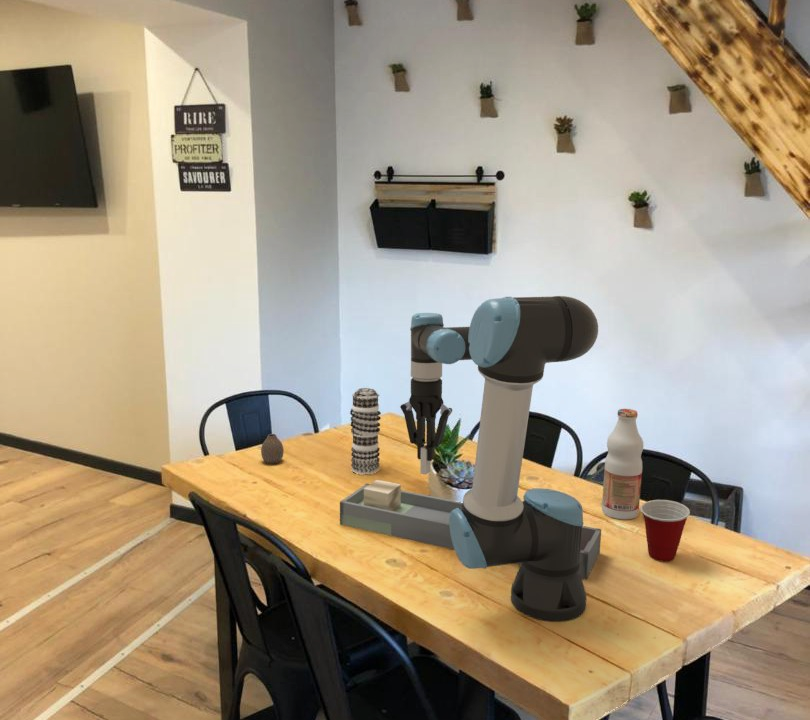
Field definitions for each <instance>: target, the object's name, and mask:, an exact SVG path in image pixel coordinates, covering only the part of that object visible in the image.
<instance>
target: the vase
mask: <svg viewBox="0 0 810 720" xmlns="http://www.w3.org/2000/svg"><path fill="white" fill-rule="evenodd" d="M284 454H285V453H284V445H283V443H282V441H281V440H279V438H278V436H277V434H276V433H269V434H268V435H267V437H266V439H265V440H264V441H263V442H262V444H261V448H260V455H261V459H262V460H263V461H264V462H265V463H266V464H269V465H273V464H274V465H275V464H278V463H279V462H280V461H282V459H283V457H284Z"/></svg>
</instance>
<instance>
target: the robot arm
mask: <svg viewBox="0 0 810 720" xmlns="http://www.w3.org/2000/svg"><path fill="white" fill-rule="evenodd" d="M444 326H445V324H444V317H443V315H442V314H441V313H437V312H436V313H434V312H418V313H415V314H413V315H412V316H411V320H410V329H409V330H410V377H411V379H410V397H409V399H408V401H407V402H405V403H403V404H400V406H399V407H400V410H401V411H402V413H403V414H404V421H405V424H406V430H407V433H408V438H409V443H410V444H413V445H415V446H416V447H417V450H416V451H417V454H416V455H417V456H416V457H417V460H420V468H419V469H420V475H428V474H429V473H431V470H432V469H431V467H432V466H431V465H432V464H431V461H433V460H434V458H435V448H437V447H439V446H441V444H443V443H442V442H443V439H444V434H445V432H446V428H447V423H448V419H449V418H450V417H449V416H450V415H451V414H452V413H453V409H452V408H451V407H447V406H446V405H445V403H444V400H443V395H442V394H443V379H441V378H442V377H443V364H444V365H453V364H455V363H457V362H459V361H471V360H472V362H473V363H474V364H475V365H476V366H477V371H478V373H479V374H480V375H481V376H482V377H483V378H484V387H483V392H482V393H483V394H482V403H481V411H480V419H479V428H478V436H477V445H476V453H475V462H474V470H473V479H472V487H471V489H469V490H468V491H466V492H465V493H464V494H463V498H462V502H463V503H462V508H456V509H454V510H453V511H451V513H450V516H449V528H450V534H451V539H452V543H453V546H454V549H455V550H454V551H455V554H456V556H457V558H458V560H459V561H460V563H461V565H463V567H466V568H467V569H470V570H471V569H472V570H475V569H485V570H486V569H488V568H490V567H499V566H505V565H513V564H515V563H521V565H519V568H518V570H517V572H516V575H515V577H514V580H513V583H512V585H511V588H510V601H511V604H512V605H513V607H514V608H515V609H516V610H517V611H519V612H520V613H522V614H523V615H524V616H527V617H530V618H533V619H535V620H540V621H546V622H566V621H571V620H574V619H576V618H579V617H580V616H582V615H583V614H584V613H585V611H586V609H587V593H586V590H585V585H584V583H583V579H582V578H581V574H580V571H579V566H580V552H581V538H582V526H584V512H583V506H582V504H581V502H580V501H579V500H578V499H577V498H576V497H574V496H572V495H570V494H567V493H565V492H562V491H560V490H555V489H550V488H542V487H541V488H540V487H537V488H530V489H528V490H527V491H525V492H524V495H523V496H522V497H523V500H522V499H521V498H520V497H519V496H518V493H519V487H520V486H519V484H520V479H521V470H522V465H523V458H524V449H525V444H526V437H527V429H528V423H529V422H528V421H529V416H530V410H531V409H530V408H531V404H532V403H531V401H532V395H533V390H534V389H533V388H534V385H535V384H537V383H538V382H541V380H543V377H544V374H545V373H544V372H545V367H546V364H549V363H550V364H551V363H559V362H562V363H563V362H568V361H572V360H576V359H578V358H580V357H581V358H582V356H584V355H585V354H587V353H588V352H589V351H590V350H591V349H592V348H593V347H594V346H595V343H596V342H597V339H598V335H599V322H598V319H597V317H596V315H595V312H593V310H592V309H591V308H590V307H589V306H588V305H587V304H586V303H585V302H583V301H582V300H579V299H577V298H574V297H572V296H565V295H555V296H526V297H525V296H523V297H522V296H520V297H518V296H517V297H512V296H503V297H500V298H499V297H497V298H490V299H487V300H485V301H483V302H482V303H481V304H480V305H479V306H478V307H477V308H476V310H475V311H474V313H473V316H472V318H471V321H470V325H469V326H453V327H450V326H449V327H446V326H445V327H444ZM439 411H440V417H439V420H438V423H437V427H436V419H437V414H438V412H439ZM414 413H415V416H414ZM415 420H416V421H415Z"/></svg>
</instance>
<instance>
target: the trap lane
mask: <svg viewBox="0 0 810 720" xmlns="http://www.w3.org/2000/svg"><path fill="white" fill-rule="evenodd" d="M370 484H371V483H365V484H364V485H362V486H361V487H359V488H358V489H357V490H355V491H353V492H352V493H351V494H349V495H348V496H347V497H345V498H343V499H342V500H340V501H339V524H340V525H342V526H347V527H351V528H356V529H360V530H363V531H370V532H373V533H377V534H383V535H387V536H390V537H396V538H400V539H403V540H408V541H413V542H416V543H417V542H418V543H422V544H425V545H432V546H435V547H440V548H444V549H450V550H453V551H455V549H454V546H453V543H452V539H451V534H450V528H449V516H450V513H451V511H453V510H454V509H456V508H462V503H461V502H462V501H459V502H455V501H456V500H453V501H452V499H448V498H442V497H438V496H432V495H427V494H422V493H417V492H412V491H406V490H402V489H401V507H399V508H398V509H397V510H396V511H390V510H385V509H380V508H375V507H371V506H366V505H364V488H365V487H367V486H368V485H370ZM601 537H602V529H601V528H597V527H592V526H591V527H590V526H586V525H583V526H582V538H581V552H580V566H579V571H580V574H581V578H582V580H587V579H588V577H589V575H590V574H591V572H592V570H593V568H594V566H593V565H595V564H594V563H596V562H595V561H597V559H598V557H599V555H600V554H601V539H602V538H601ZM514 564H515V565H519V566H520V565H521V563H514ZM590 571H591V572H590Z"/></svg>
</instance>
